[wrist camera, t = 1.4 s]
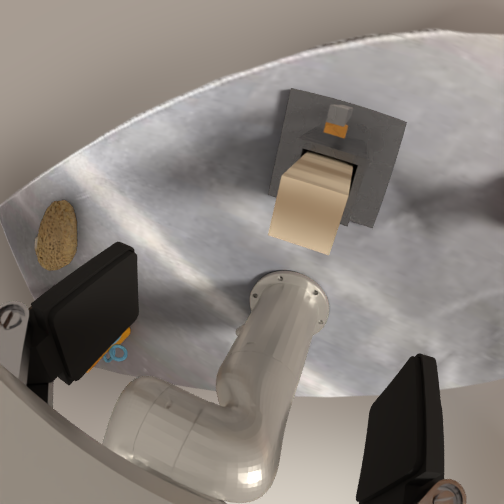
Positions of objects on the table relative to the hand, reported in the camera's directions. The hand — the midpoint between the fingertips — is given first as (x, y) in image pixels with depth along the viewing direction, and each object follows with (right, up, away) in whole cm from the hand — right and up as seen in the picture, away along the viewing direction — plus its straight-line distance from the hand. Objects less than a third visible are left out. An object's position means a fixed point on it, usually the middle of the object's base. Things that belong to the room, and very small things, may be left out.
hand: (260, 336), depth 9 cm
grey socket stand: (+10, +14, +27) cm, 32 cm away
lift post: (+10, +14, +26) cm, 31 cm away
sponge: (-42, +7, +52) cm, 67 cm away
